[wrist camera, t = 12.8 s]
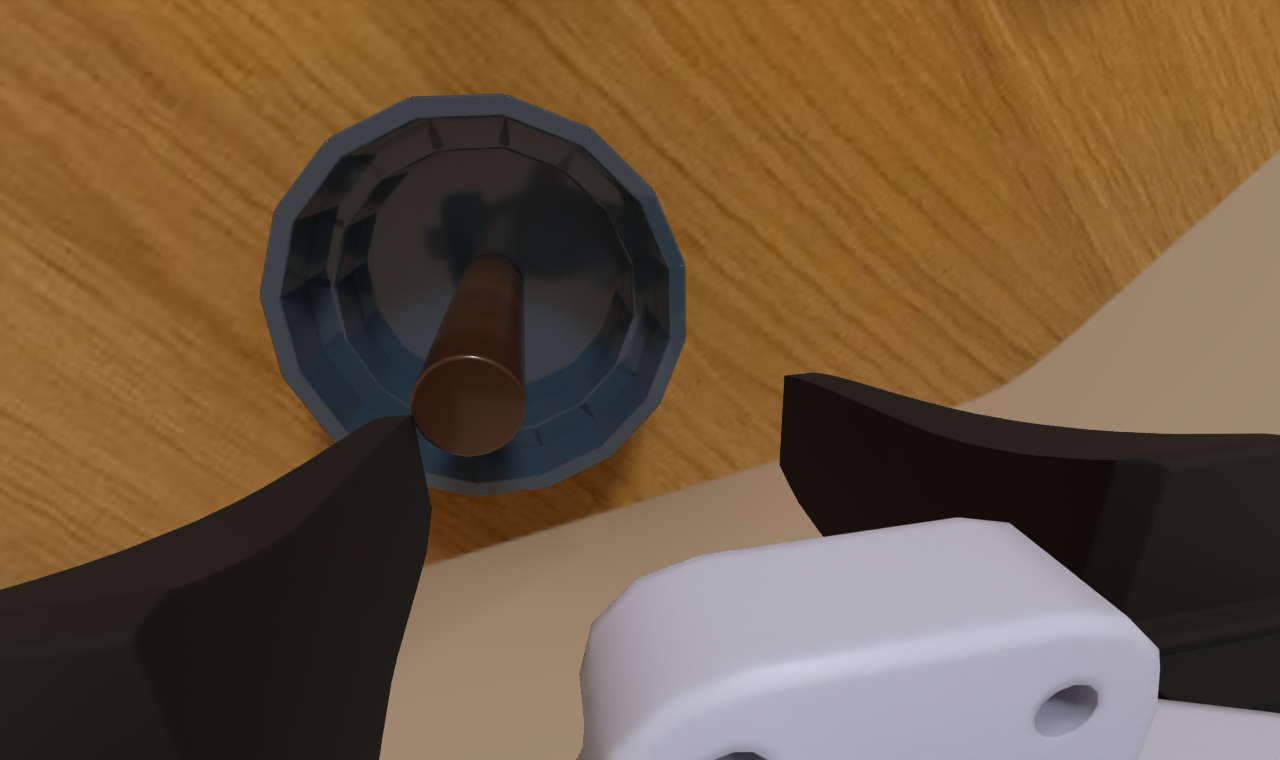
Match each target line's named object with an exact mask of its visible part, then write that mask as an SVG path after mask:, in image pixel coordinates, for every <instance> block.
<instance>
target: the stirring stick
mask: <svg viewBox="0 0 1280 760" xmlns="http://www.w3.org/2000/svg"><path fill="white" fill-rule="evenodd" d="M410 408H411V414H412V418H413V420H414V423H415V425H416V427H417V428H418V430H419V432H420V433H421V434H422V435H423V436H424V438H425V439H426V440H428V441H429V442H430V443H431V444H432V445H434V446H435V447H437V448H439V449H441V450H443V451H445V452H448V453H451V454H454V455H460V456H478V455H484V454H487V453H490V452H493V451H495V450H497V449H499V448H501V447H502V446H504V445H505V444H507V443H508V442H509V441H510V440H511V439H512V438H513V437H514V436H515V435H516V433H517V432H518V431H519V429H520V427H521V425H522V423H523V420H524V417H525V411H526V383H525V319H524V281H523V277H522V274H521V272H520V270H519V269H518V267H517V266H516V265H515V264H514V263H513V262H512V261H510V260H509V259H507V258H505V257H503V256H500V255H495V254H487V255H482V256H479V257H477V258H475V259H474V260H472V261H471V262H470V263H469V264H468V265H467V267H466V268H465V270H464V272H463V274H462V276H461V279H460V281H459V283H458V285H457V288H456V290H455V292H454V295H453V297H452V299H451V302H450V304H449V306H448V308H447V311H446V313H445V315H444V318H443V320H442V322H441V325H440V327H439V329H438V331H437V334H436V336H435V338H434V341H433V343H432V345H431V348H430V350H429V352H428V354H427V357H426V359H425V361H424V364H423V366H422V368H421V371H420V373H419V375H418V378H417V380H416V382H415V384H414V387H413V390H412V393H411V399H410Z"/></svg>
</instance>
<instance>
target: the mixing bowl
mask: <svg viewBox="0 0 1280 760" xmlns="http://www.w3.org/2000/svg"><path fill="white" fill-rule="evenodd" d="M487 254H495V255H500V256H503V257H505V258H507V259H509V260H510V261H512V262H513V263H514V264H515V265H516V266H517V267H518V269H519V270H520V272H521V274H522V277H523V281H524V319H525V383H526V411H525V417H524V420H523V423H522V425H521V427H520V429H519V431H518V432H517V433H516V435H515V436H514V437H513V438H512V439H511V440H510V441H509V442H508V443H507V444H505V445H504V446H502V447H501V448H499V449H497V450H495V451H493V452H490V453H487V454H484V455H478V456H460V455H454V454H451V453H448V452H445V451H443V450H441V449H439V448H437V447H435V446H434V445H432V444H431V443H430V442H429V441H428V440H426V439H425V438H424V436H423V435H422V434H421V433H420V432H419V430H418V428H417V427H416V425H415V427H416V432H417V437H418V442H419V447H420V452H421V457H422V462H423V467H424V472H425V478H426V483H427V487H429V488H434V489H439V490H443V491H448V492H453V493H458V494H463V495H467V496H472V497H475V496H476V497H479V496H487V495H495V494H503V493H511V492H519V491H527V490H535V489H543V488H547V487H551V486H553V485H555V484H557V483H559V482H561V481H563V480H565V479H567V478H569V477H571V476H573V475H575V474H577V473H579V472H581V471H583V470H585V469H587V468H589V467H591V466H593V465H595V464H597V463H599V462H601V461H603V460H605V459H607V458H609V457H610V456H611V455H613V454H614V453H615V452H616V451H617V450H618V449H619V448H620V447H621V446H622V445H623V443H624V442H625V441H626V440H627V439H628V438H629V437H630V436H631V435H632V434H633V433H634V432H635V431H636V430H637V429H638V428H639V426H640V425H641V424H642V423H643V422H644V421H645V420H646V419H647V418H648V417H649V416H650V415H651V414H652V413H653V412H654V410H655V409H656V408H657V407H658V406H659V405H658V404H660V403H661V400H662V398H663V395H664V393H665V390H666V388H667V385H668V383H669V380H670V378H671V375H672V373H673V370H674V368H675V365H676V363H677V360H678V358H679V355H680V353H681V350H682V348H683V345H684V343H685V338H686V278H685V264H684V260H683V257H682V255H681V253H680V250H679V248H678V245H677V243H676V241H675V238H674V236H673V234H672V231H671V229H670V227H669V224H668V222H667V220H666V217H665V215H664V213H663V210H662V208H661V206H660V203H659V201H658V199H657V196H656V194H655V192H654V191H653V189H652V187H651V186H650V185H649V184H648V183H646V182H645V181H644V180H643V179H642V178H641V177H640V176H639V175H638V174H637V173H636V172H635V171H634V170H633V169H632V168H631V167H630V166H629V165H628V164H627V163H626V162H625V161H624V160H623V159H622V158H621V157H620V156H619V155H618V154H617V153H616V152H615V151H614V150H613V149H612V148H611V147H610V146H609V145H608V144H607V143H606V142H605V141H604V140H603V139H602V138H601V137H600V136H599V135H598V134H597V133H596V132H595V131H593V130H592V129H590V128H589V127H587V126H584V125H582V124H579V123H577V122H574V121H572V120H569V119H567V118H564V117H562V116H559V115H557V114H554V113H552V112H549V111H547V110H544V109H542V108H539V107H537V106H534V105H532V104H529V103H527V102H524V101H522V100H519V99H517V98H514V97H512V96H509V95H504V94H479V95H445V96H413V97H411V98H406V99H404V100H402V101H400V102H398V103H396V104H394V105H392V106H390V107H388V108H386V109H384V110H382V111H380V112H378V113H376V114H374V115H373V116H371V117H369V118H367V119H365V120H363V121H361V122H359V123H357V124H355V125H353V126H351V127H349V128H347V129H345V130H343V131H341V132H339V133H337V134H335V135H333V136H331V137H329V138H328V140H326V141H325V142H324V143H323V145H322V146H321V147H320V149H319V150H318V151H317V153H316V154H315V155H314V157H313V158H312V159H311V161H310V162H309V163H308V165H307V166H306V167H305V169H304V170H303V171H302V173H301V174H300V175H299V177H298V178H297V180H296V181H295V182H294V184H293V185H292V186H291V188H290V189H289V190H288V192H287V193H286V194H285V196H284V197H283V198H282V200H281V201H280V202H279V204H278V205H277V206H276V208H275V211H274V212H273V217H272V223H271V229H270V235H269V241H268V246H267V252H266V258H265V264H264V270H263V276H262V282H261V287H260V295H261V296H260V300H261V304H262V307H263V311H264V314H265V318H266V321H267V325H268V329H269V332H270V336H271V339H272V343H273V347H274V350H275V354H276V357H277V361H278V364H279V368H280V372H281V375H282V377H283V379H284V380H285V381H286V383H287V384H288V385H289V386H290V388H291V389H292V390H293V391H294V393H295V394H296V395H297V396H298V398H299V399H300V400H301V401H302V403H303V404H304V405H305V407H306V408H307V409H308V410H309V412H310V413H311V414H312V415H313V417H314V418H315V419H316V420H317V422H318V423H319V424H320V425H321V427H322V428H323V429H324V431H325V432H326V433H327V434H328V436H329V437H330V438H331V439H332V440H334V442H338V441H340V440H341V439H343V438H344V437H346V436H347V435H349V434H350V433H352V432H353V431H355V430H357V429H358V428H360V427H361V426H363V425H365V424H367V423H368V422H370V421H372V420H375V419H377V418H382V417H392V416H401V415H411V408H410V399H411V393H412V390H413V387H414V384H415V382H416V380H417V378H418V375H419V373H420V371H421V368H422V366H423V364H424V361H425V359H426V357H427V354H428V352H429V350H430V348H431V345H432V343H433V341H434V338H435V336H436V334H437V331H438V329H439V327H440V325H441V322H442V320H443V318H444V315H445V313H446V311H447V308H448V306H449V304H450V302H451V299H452V297H453V295H454V292H455V290H456V288H457V285H458V283H459V281H460V279H461V276H462V274H463V272H464V270H465V268H466V267H467V265H468V264H469V263H470V262H471V261H472V260H474V259H475V258H477V257H479V256H482V255H487Z"/></svg>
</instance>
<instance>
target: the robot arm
mask: <svg viewBox="0 0 1280 760" xmlns="http://www.w3.org/2000/svg"><path fill="white" fill-rule="evenodd" d="M780 467H781V469H782V471H783V473H784V475H785V477H786V479H787V481H788V483H789V485H790V487H791V489H792V491H793V493H794V495H795V497H796V498H797V500H798V502H799V504H800V505H801V507H802V508H803V510H804V511H805V512H806V514H807V515H808V516H809V518H810V519H811V521H812V522H813V523H814V525H815V526H816V528H817V529H818V530H819V532H820V533H821V534H822V536H823V537H820V538H813V539H807V540H800V541H793V542H786V543H779V544H772V545H766V546H759V547H752V548H746V549H738V550H732V551H725V552H718V553H711V554H705V555H699V556H696V557H694V558H691V559H688V560H685V561H683V562H680V563H677V564H675V565H672V566H669V567H667V568H664V569H661V570H659V571H656V572H653V573H650V574H648V575H645V576H642V577H640V578H637V579H636V580H635V581H634V582H633V583H632V584H631V585H630V586H629V587H628V588H627V589H626V590H625V591H624V592H623V593H622V594H621V595H620V596H619V597H618V598H617V599H616V600H615V601H614V602H613V603H612V604H611V605H610V606H609V607H608V608H607V609H606V610H605V611H604V612H603V613H602V614H601V615H600V616H599V617H598V618H597V619H596V620H595V621H594V622H593V623H592V625H591V629H590V633H589V637H588V641H587V645H586V649H585V653H584V658H583V662H582V666H581V670H580V674H579V675H580V685H581V695H582V705H583V714H584V737H583V748H582V750H581V752H580V754H579V756H578V758H577V759H576V760H1280V435H1275V434H1156V433H1155V434H1154V433H1133V432H1114V431H1099V430H1087V429H1086V430H1085V429H1077V428H1067V427H1059V426H1050V425H1040V424H1033V423H1026V422H1019V421H1013V420H1007V419H1002V418H996V417H991V416H985V415H979V414H974V413H970V412H965V411H960V410H956V409H952V408H948V407H944V406H940V405H936V404H932V403H928V402H924V401H920V400H917V399H913V398H910V397H906V396H903V395H899V394H896V393H892V392H889V391H885V390H882V389H879V388H875V387H872V386H869V385H865V384H862V383H858V382H855V381H851V380H848V379H844V378H840V377H836V376H832V375H827V374H821V373H806V374H796V375H787V376H784V394H783V411H782V429H781V447H780ZM431 510H432V508H431V503H430V498H429V493H428V488H427V483H426V478H425V472H424V467H423V462H422V457H421V452H420V447H419V442H418V437H417V432H416V427H415V423H414V420H413V418H412V414H411V415H401V416H392V417H382V418H377V419H375V420H372V421H370V422H368V423H367V424H365V425H363V426H361V427H360V428H358V429H357V430H355V431H353V432H352V433H350V434H349V435H347V436H346V437H344V438H343V439H341V440H340V441H338V442H336V443H335V444H333V445H332V446H330V447H329V448H327V449H326V450H324V451H323V452H321V453H320V454H318V455H317V456H315V457H313V458H312V459H310V460H309V461H307V462H306V463H304V464H302V465H301V466H299V467H297V468H295V469H294V470H292V471H290V472H289V473H287V474H285V475H284V476H282V477H280V478H279V479H277V480H275V481H274V482H272V483H270V484H269V485H267V486H265V487H264V488H262V489H260V490H258V491H256V492H254V493H253V494H251V495H249V496H247V497H245V498H243V499H241V500H239V501H237V502H235V503H233V504H231V505H229V506H227V507H225V508H223V509H221V510H219V511H217V512H214V513H212V514H210V515H208V516H206V517H204V518H202V519H200V520H197V521H195V522H193V523H190V524H188V525H186V526H183V527H181V528H178V529H176V530H173V531H171V532H168V533H166V534H163V535H161V536H158V537H156V538H153V539H151V540H148V541H146V542H143V543H141V544H138V545H136V546H133V547H131V548H128V549H126V550H123V551H120V552H118V553H115V554H112V555H109V556H106V557H103V558H100V559H97V560H94V561H92V562H89V563H86V564H83V565H80V566H77V567H74V568H71V569H67V570H64V571H61V572H58V573H55V574H52V575H48V576H45V577H42V578H39V579H36V580H32V581H29V582H26V583H22V584H19V585H15V586H12V587H9V588H5V589H1V590H0V760H379V757H380V750H381V743H382V737H383V730H384V724H385V718H386V711H387V706H388V700H389V694H390V688H391V682H392V677H393V673H394V669H395V665H396V660H397V656H398V653H399V649H400V646H401V642H402V639H403V635H404V631H405V628H406V625H407V621H408V618H409V614H410V611H411V607H412V604H413V600H414V596H415V593H416V589H417V586H418V582H419V579H420V575H421V571H422V568H423V564H424V560H425V556H426V552H427V545H428V537H429V529H430V520H431Z"/></svg>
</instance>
